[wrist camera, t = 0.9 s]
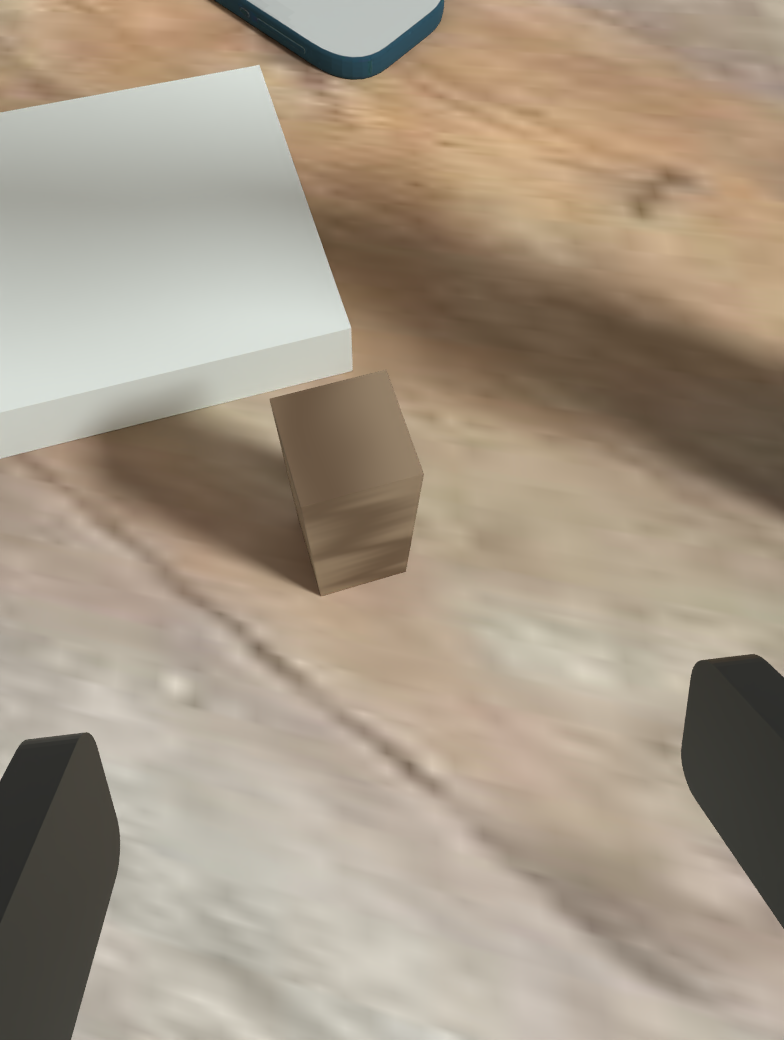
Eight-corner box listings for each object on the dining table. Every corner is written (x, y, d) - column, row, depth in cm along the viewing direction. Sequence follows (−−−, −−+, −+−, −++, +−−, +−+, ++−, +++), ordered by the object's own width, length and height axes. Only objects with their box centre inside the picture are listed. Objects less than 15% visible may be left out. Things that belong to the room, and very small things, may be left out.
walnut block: (379, 494, 38) (386, 369, 27) (405, 571, 37) (423, 473, 25) (298, 516, 37) (269, 398, 26) (321, 596, 36) (301, 507, 25)
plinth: (267, 122, 47) (259, 65, 44) (352, 370, 41) (351, 328, 37) (-45, 183, 44) (-83, 127, 41) (-9, 460, 38) (-50, 424, 34)
